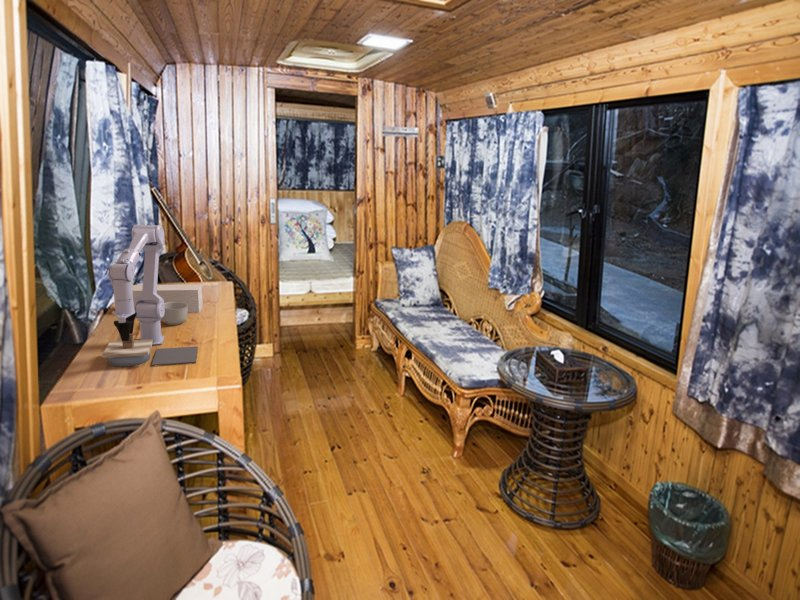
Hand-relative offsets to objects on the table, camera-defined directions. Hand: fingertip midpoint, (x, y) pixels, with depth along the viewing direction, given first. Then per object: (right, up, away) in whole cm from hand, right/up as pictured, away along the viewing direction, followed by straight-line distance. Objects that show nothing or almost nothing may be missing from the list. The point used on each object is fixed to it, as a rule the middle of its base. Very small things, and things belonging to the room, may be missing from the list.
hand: (127, 337), depth 195 cm
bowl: (0, -8, +2) cm, 8 cm away
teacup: (-2, +3, +43) cm, 43 cm away
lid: (0, -4, +1) cm, 5 cm away
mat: (+14, -7, +6) cm, 17 cm away
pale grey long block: (-13, +8, +62) cm, 64 cm away
